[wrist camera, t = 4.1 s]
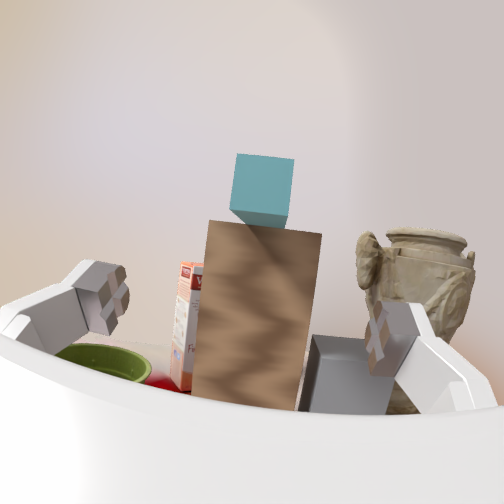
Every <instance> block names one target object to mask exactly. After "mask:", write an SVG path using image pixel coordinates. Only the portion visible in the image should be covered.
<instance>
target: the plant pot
mask: <svg viewBox="0 0 504 504" xmlns="http://www.w3.org/2000/svg"><path fill="white" fill-rule="evenodd" d="M54 356H56V357H58V358H61V359H64V360H66V361H69V362H72V363H75V364H78V365H81V366H84V367H86V368H90V369H93V370H96V371H99V372H102V373H105V374H108V375H112V376H115V377H118V378H122V379H125V380H129V381H133V382H136V383H140V384H144V382H145V380H146V379H147V378H148V377H149V375H150V374H151V369H152V368H151V365H150V363H149V362H148V360H147V359H145V358H144V357H143V356H141V355H139V354H137V353H135V352H132V351H130V350H127V349H123V348H120V347H115V346H109V345H102V344H89V343H78V344H70V345H69V346H67V347H66V348H64V349H63V350H61V351H60V352H58V353H57V354H55V355H54Z"/></svg>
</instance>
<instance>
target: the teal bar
mask: <svg viewBox="0 0 504 504" xmlns="http://www.w3.org/2000/svg"><path fill="white" fill-rule="evenodd" d="M293 166H294V159H285V158H277V157H268V156H259V155H248V154H237V158H236V165H235V172H234V179H233V187H232V193H231V201H230V208H229V209H230V210H231V211H232V212H233V213H234V214H235V215H237V216H238V217H239V218H240V219H241V220H242V221H243V222H245V223H246V224H249V225H257V226H265V227H273V228H281V229H284V228H285V225H286V221H287V217H288V211H289V202H290V194H291V185H292V176H293Z"/></svg>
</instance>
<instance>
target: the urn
mask: <svg viewBox="0 0 504 504" xmlns="http://www.w3.org/2000/svg"><path fill="white" fill-rule="evenodd" d="M386 236H387V237H388V238H389V240H390V241H391V242H392V246H391V247H389V248H388V247H381V246H380V245H379V244H378V241H377V240H376V238H375V236H374V234H373V233H371V232H369V231H365V232H363V233H362V234H361V236H360V237H359V239H358V242H357V247H356V255H357V259H356V266H357V281H358V285H359V287H360V288H361V289H362V290H365V292H366V298H365V299H366V304H367V308H368V310H369V315H370V320H371V319H372V318H374V313H373V309H374V306H375V304H376V302H377V301H378V300H379V301H390V302H401V303H406V302H408V303H420V304H421V305H423V308H424V310H425V312H426V315H427V317H428V319H429V322H430V324H431V326H432V329H433V331H434V334H435V336H436V337H440V338H441V339H442V340H443V341H445V342H446V343H447V344H448V345H449V342H450V340H451V338H452V337H453V335H454V333H455V331H456V329H457V328H458V327H459V326H460V325H461V324H462V323H463V320H464V317H465V314H466V312H467V309H468V305H469V301H470V294H471V291H472V287H473V284H474V281H475V270H474V268H473V265H474V259H475V252H473V251H471V252H469V253H468V256H467V259H466V258H465V256H464V255H463V254H462V253H461V252H462V251H463V250H464V248H465V247H467V242H466V240H465V239H464V238H462V237H460V236H458V235H455V234H453V233H449V232H444V231H440V230H433V229H423V228H411V227H398V228H393V229H390V230H388V231H387V233H386ZM410 414H421V413H420V412H419V410H418V409H417V408H416V406H415V405H414V404H413V402H412V401H411V400H410V398H409V397H408V396H407V394H406V393H405V392H404V391H403V389H402V388H401V387H400V385H399V384H398V383H397V381H396V380H395V382H394V385H393V389H392V393H391V396H390V400H389V403H388V407H387V410H386V413H385V415H410Z"/></svg>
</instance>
